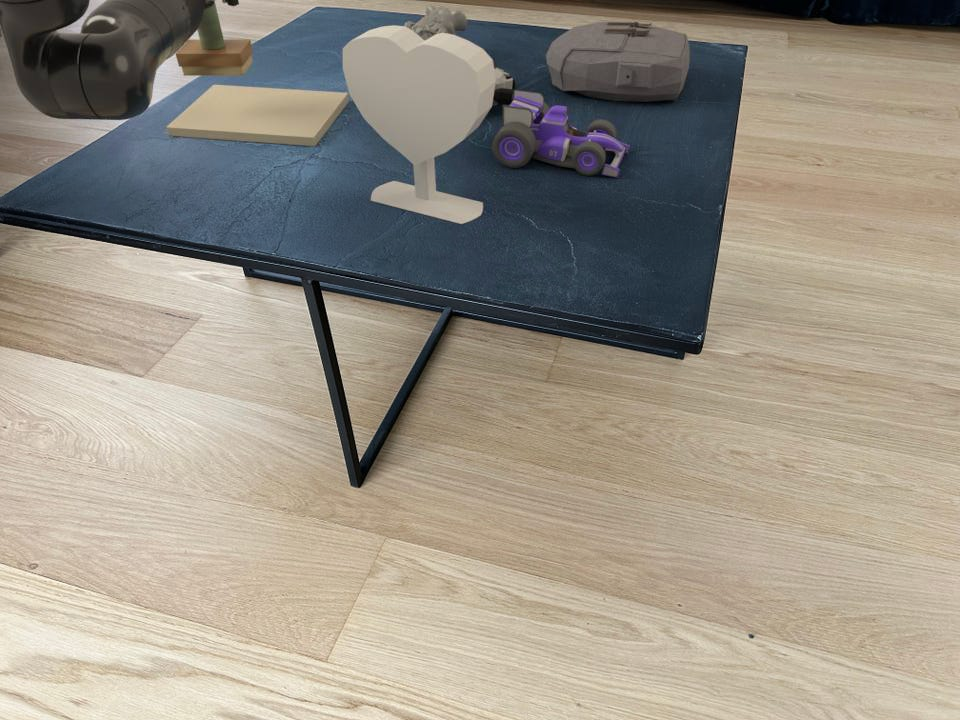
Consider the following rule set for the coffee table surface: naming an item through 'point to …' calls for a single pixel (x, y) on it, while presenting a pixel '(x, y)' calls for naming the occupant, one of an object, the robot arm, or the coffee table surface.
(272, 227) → the coffee table surface
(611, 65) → the soft grey pack
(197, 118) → the tile board
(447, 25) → the elephant statuette
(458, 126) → the heart sculpture
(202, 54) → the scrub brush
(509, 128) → the toy race car
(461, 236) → the coffee table surface
